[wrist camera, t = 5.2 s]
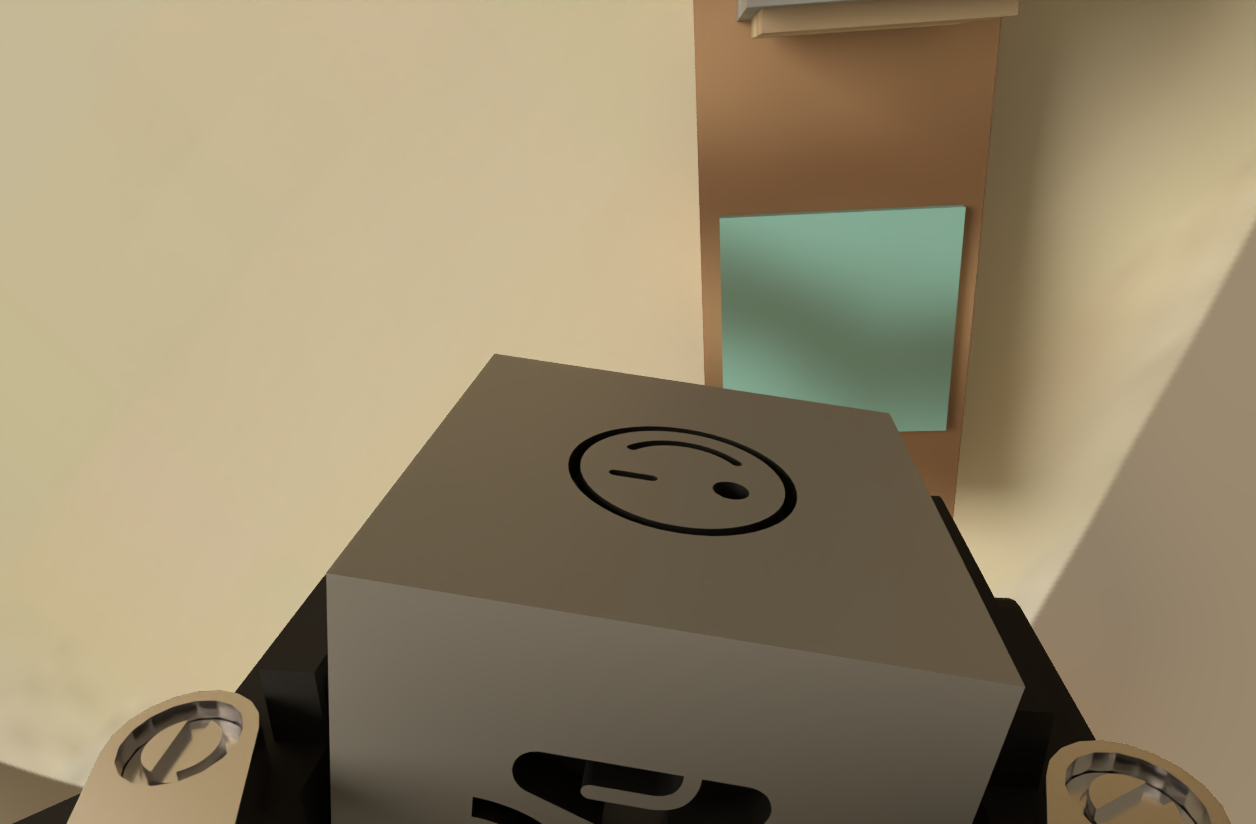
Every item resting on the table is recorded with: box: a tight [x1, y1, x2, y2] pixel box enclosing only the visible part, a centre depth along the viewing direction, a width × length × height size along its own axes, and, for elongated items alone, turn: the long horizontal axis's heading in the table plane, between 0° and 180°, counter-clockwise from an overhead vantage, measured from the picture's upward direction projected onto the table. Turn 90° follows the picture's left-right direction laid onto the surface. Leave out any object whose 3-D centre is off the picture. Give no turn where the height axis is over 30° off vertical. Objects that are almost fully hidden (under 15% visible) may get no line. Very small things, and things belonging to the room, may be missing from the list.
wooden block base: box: [693, 0, 1019, 518], centre depth 19 cm, size 20×7×9 cm, turn 4°
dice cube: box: [326, 354, 1025, 824], centre depth 9 cm, size 5×5×5 cm
